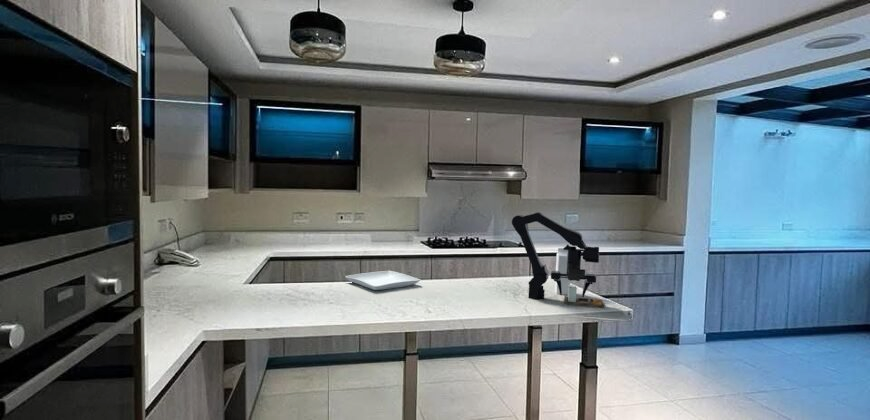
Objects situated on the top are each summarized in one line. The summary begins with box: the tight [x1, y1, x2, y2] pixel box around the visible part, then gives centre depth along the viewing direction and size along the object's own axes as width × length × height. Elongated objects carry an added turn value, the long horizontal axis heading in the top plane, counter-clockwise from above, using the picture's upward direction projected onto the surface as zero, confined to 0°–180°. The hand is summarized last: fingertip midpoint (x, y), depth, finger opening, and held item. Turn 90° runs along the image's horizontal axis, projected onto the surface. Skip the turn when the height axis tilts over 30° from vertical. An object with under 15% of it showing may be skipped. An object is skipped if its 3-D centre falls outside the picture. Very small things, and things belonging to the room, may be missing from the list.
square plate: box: [344, 270, 421, 291], centre depth 234 cm, size 27×27×4 cm
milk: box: [554, 247, 571, 296], centre depth 226 cm, size 6×6×22 cm
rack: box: [563, 295, 606, 309], centre depth 208 cm, size 16×11×4 cm, turn 77°
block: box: [567, 284, 578, 302], centre depth 209 cm, size 3×6×7 cm, turn 167°
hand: (571, 296), depth 209 cm, fingers open, 9 cm apart
